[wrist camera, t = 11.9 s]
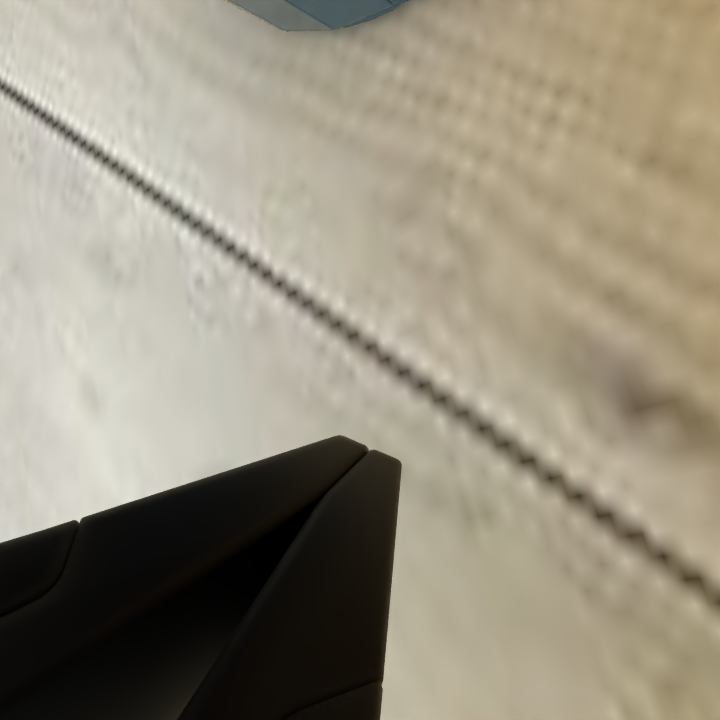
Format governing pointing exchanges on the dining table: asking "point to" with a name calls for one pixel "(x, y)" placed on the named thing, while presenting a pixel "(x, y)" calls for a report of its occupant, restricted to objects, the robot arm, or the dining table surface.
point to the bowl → (315, 12)
